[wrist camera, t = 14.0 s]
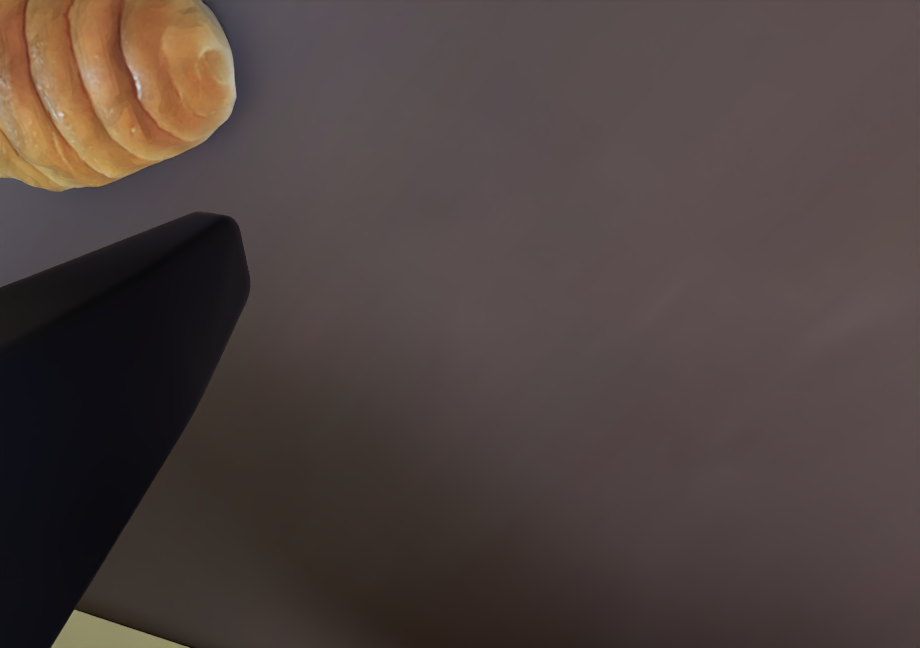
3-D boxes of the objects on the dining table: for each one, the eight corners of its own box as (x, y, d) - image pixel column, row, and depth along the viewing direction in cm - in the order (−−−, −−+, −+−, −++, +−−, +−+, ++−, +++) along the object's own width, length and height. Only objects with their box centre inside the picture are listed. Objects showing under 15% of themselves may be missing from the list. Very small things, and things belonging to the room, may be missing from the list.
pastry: (236, -76, 22) (127, -103, 19) (266, 183, 24) (171, 201, 20) (-11, -34, 26) (-138, -50, 22) (31, 187, 27) (-81, 202, 24)
